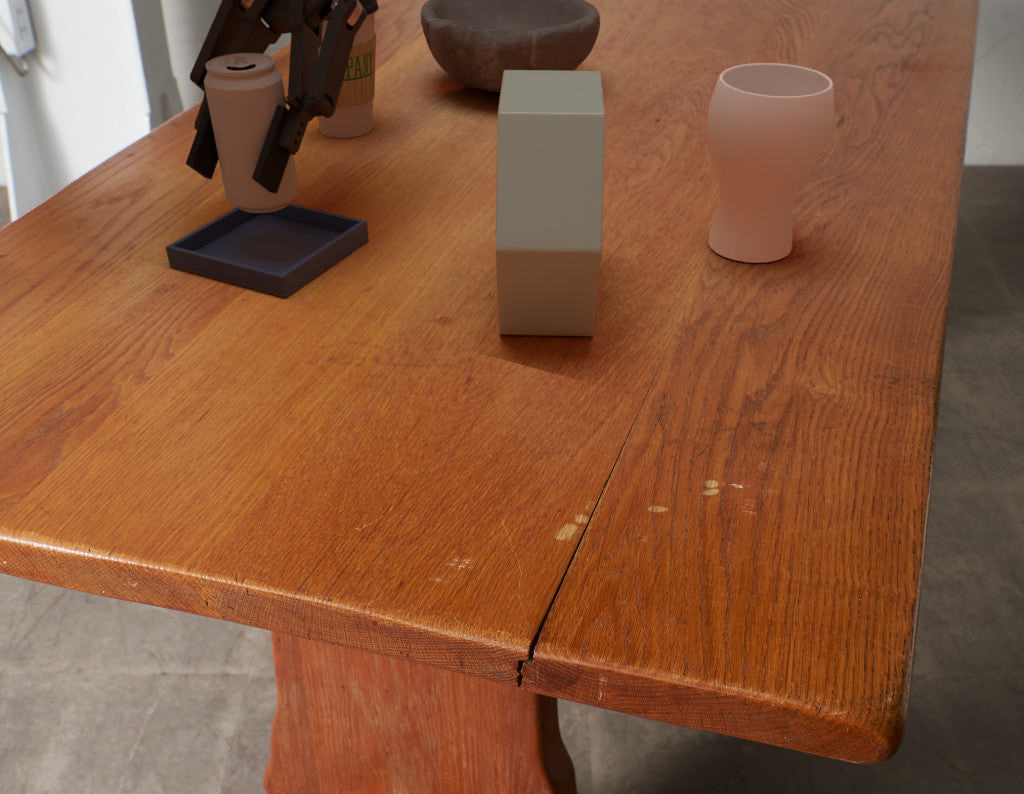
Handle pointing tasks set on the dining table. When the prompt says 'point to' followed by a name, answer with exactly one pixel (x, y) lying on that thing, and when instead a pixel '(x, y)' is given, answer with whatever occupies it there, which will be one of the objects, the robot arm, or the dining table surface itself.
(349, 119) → the coffee cup
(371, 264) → the dining table surface
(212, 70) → the beverage can
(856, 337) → the dining table surface
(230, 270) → the tray
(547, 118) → the grey beige box
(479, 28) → the bowl
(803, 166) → the cup
